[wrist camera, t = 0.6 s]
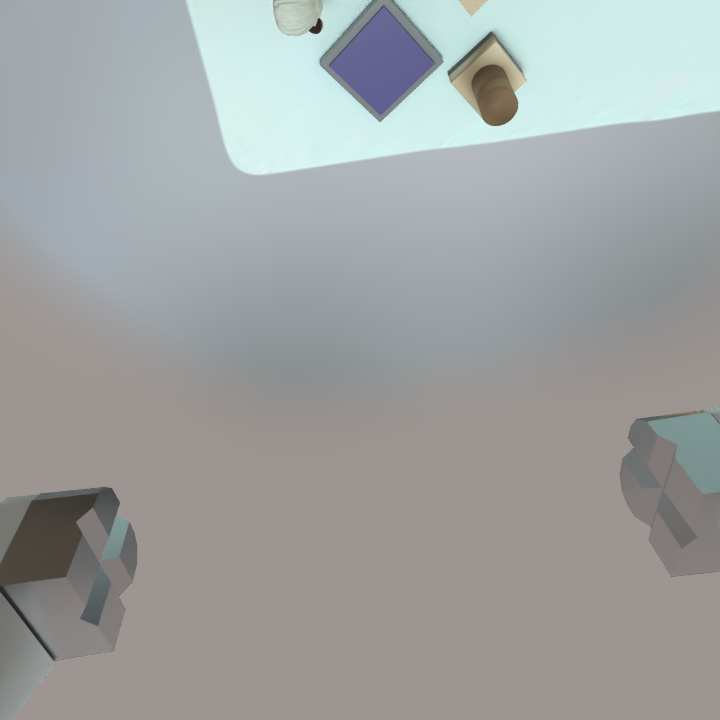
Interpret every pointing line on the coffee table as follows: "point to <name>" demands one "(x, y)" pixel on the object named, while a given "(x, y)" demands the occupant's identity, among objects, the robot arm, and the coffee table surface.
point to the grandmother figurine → (298, 16)
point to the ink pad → (381, 58)
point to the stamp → (489, 81)
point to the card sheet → (472, 5)
